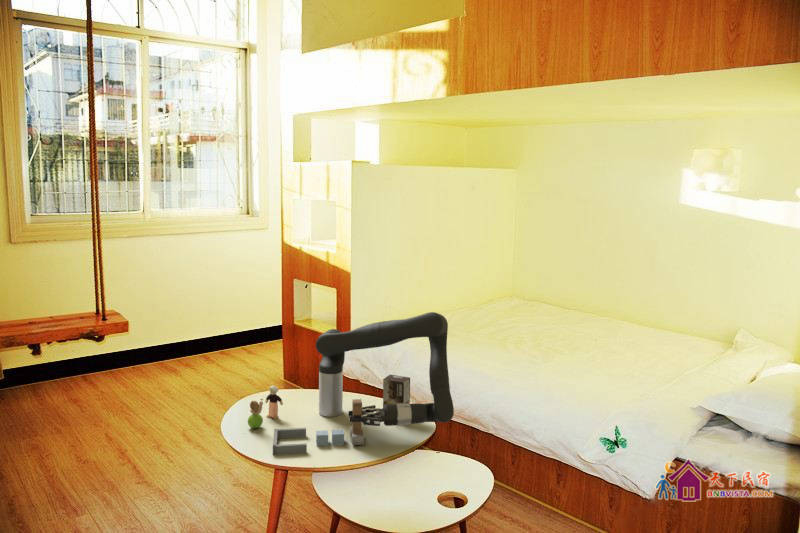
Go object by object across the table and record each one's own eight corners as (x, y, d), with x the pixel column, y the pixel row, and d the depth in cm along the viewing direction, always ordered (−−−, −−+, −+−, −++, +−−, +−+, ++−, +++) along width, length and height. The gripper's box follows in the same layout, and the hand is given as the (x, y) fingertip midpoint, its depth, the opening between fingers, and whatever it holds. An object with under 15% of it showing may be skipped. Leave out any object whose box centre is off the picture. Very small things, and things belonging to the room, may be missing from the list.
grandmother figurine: (262, 418, 237) (262, 386, 235) (266, 414, 241) (265, 383, 239) (281, 419, 236) (281, 388, 234) (285, 416, 239) (284, 384, 238)
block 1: (316, 441, 217) (316, 430, 217) (327, 441, 218) (327, 430, 217) (316, 446, 213) (316, 435, 213) (328, 445, 214) (328, 434, 213)
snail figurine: (257, 432, 223) (256, 401, 222) (244, 428, 227) (244, 397, 225) (267, 427, 228) (267, 396, 226) (255, 423, 231) (255, 393, 230)
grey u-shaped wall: (274, 437, 220) (274, 429, 219) (306, 435, 222) (305, 427, 221) (272, 455, 206) (272, 446, 205) (306, 453, 208) (306, 444, 207)
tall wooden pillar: (350, 434, 222) (350, 397, 220) (361, 433, 222) (361, 396, 220) (352, 444, 213) (352, 406, 211) (363, 444, 214) (364, 405, 212)
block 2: (331, 440, 218) (331, 430, 218) (343, 440, 219) (343, 429, 218) (332, 445, 214) (332, 434, 214) (344, 445, 215) (344, 434, 214)
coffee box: (410, 417, 241) (411, 377, 239) (403, 422, 235) (404, 382, 233) (389, 412, 245) (390, 373, 243) (382, 418, 239) (382, 378, 237)
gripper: (394, 397, 225) (347, 399, 222) (400, 411, 211) (350, 414, 208) (393, 416, 226) (347, 418, 223) (400, 432, 212) (350, 435, 209)
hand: (349, 416), depth 216 cm, fingers closed on tall wooden pillar, 4 cm apart
